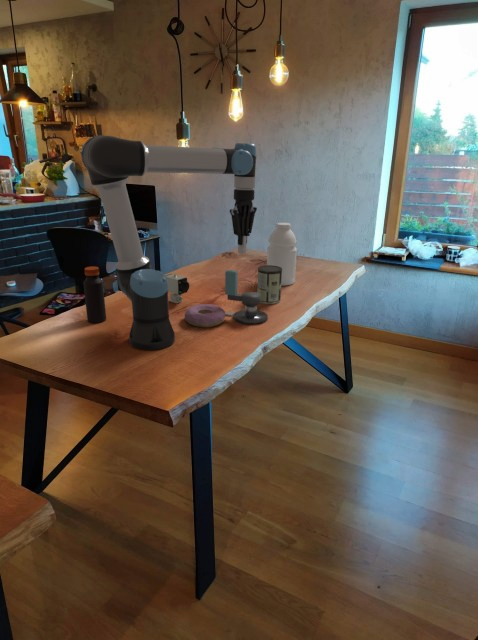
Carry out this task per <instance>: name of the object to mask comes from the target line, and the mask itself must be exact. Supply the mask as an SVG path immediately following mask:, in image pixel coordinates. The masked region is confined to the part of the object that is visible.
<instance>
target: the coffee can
mask: <svg viewBox="0 0 478 640" xmlns="http://www.w3.org/2000/svg"><path fill="white" fill-rule="evenodd" d="M281 279H282V268H281V267H279V266H273V265H267V264H266V265H260V266H258V267H257V285H256V286H257V290H256V293H258V294H260V295H261V299H260V304H264V305H272V304H273V305H277V304H279V303H280V302H282V301H281V300H282V299H281V297H282V286H281Z"/></svg>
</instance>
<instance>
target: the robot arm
mask: <svg viewBox="0 0 478 640" xmlns="http://www.w3.org/2000/svg"><path fill="white" fill-rule="evenodd" d="M80 153H81V162H82V164H83V166H84V167H85V169H86V170H87V173H88V176H89V180H90V184H91V186H92V187H94V188H95V189H97V190H98V192H99V193H98V194H99V197H100V200H101V204H102V208H103V211H104V215H105V218H106V222H107V224H108V228H109V232H110V236H111V239H112V243H113V247H114V250H115V254H116V256H117V257H116V258H117V263H116V264H115V265H114V267H115V269H116V273H117V274H116V275H117V276H116V277H117V278H116V279H117V285H118V287H119V289H120V291H121V292H122V293H123V295H125V296H126V297H127V298H128V299H129V301H130V302H131V306H132V307H131V308H132V309H131V310H132V323H131V324H132V325H131V328H130V331H129V335H128V338H129V340H128V341H129V345H130V346H131V347H133V348H134V349H137V350H143V351H158V350H162V349H166V348H168V347H171V346H172V345H173V344H175V342H176V334H175V331H174V329H173V326H172V323H171V320H170V315H169V313H170V312H169V308H170V307H169V292H168V282H167V277H166V275H167V274H165V273H164V272H162V271H161V270H156V269H152V265H151V261H150V258H149V257H147V256H145V254H144V251H143V247H142V243H141V240H140V236H139V231H138V229H137V224H136V220H135V216H134V213H133V209H132V206H131V201H130V197H129V194H128V193H129V192H128V189H127V185H126V184H127V182H128V180H129V177H144V175H146V174H147V173H156V174H158V173H159V174H160V173H161V174H162V173H163V174H167V173H168V174H207V175H208V174H209V175H210V174H211V175H212V174H213V175H215V174H216V175H217V174H218V175H234V176H233V177H234V181H233V187H234V189H233V200H235V202H234V207H233V208H231V209H229V213H230V216H231V223H232V230H233V235H235V236H237V253H238V254H242V255H245V254H247V244H248V237H249V236H250V235H251V234H252V231H253V230H252V229H253V227H254V226H253V225H254V219H255V216H256V215H255V214H256V212H257V210H258V209H257V207H255V206H253V201H254V200H255V188H256V165H257V164H256V162H257V146H256V144H255V143H247V142H246V143H245V142H236V143H235V144H234V148H219V147H217V148H216V147H212V148H211V147H210V148H209V147H195V146H194V147H191V146H190V147H189V146H169V145H154V144H153V145H151V144H150V145H148V144H145V143H144V142H143V141H142V140H132V139H126V138H121V137H116V136H112V135H104V134H101V135H95V136H94V135H93V136H92V137H90V138H89V139H88V140H86V141H85V142H84V144H83V146H82V148H81V152H80Z"/></svg>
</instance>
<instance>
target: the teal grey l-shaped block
mask: <svg viewBox="0 0 478 640" xmlns="http://www.w3.org/2000/svg"><path fill="white" fill-rule="evenodd" d="M238 271H239V270H231V269H227V270H225V273H224V275H225V276H224V277H225V280H224V285H225V286H224V288H225V289H224V291H225V292H224V293H225V295H227V301H235V302H241V304H242V305H244V306H245V305H247V306H256V305H257V306H259V305H261V303H260V299H261V295H260V294H258V293H257V292H254V291H253V292H252V291H251V292H248V291H247V292H243V293H238V273H239V272H238Z"/></svg>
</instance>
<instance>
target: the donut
mask: <svg viewBox="0 0 478 640" xmlns="http://www.w3.org/2000/svg"><path fill="white" fill-rule="evenodd" d="M225 314H226V311H225V309H223V308H222V307H221V306H219V305H215V304H212V303H211V304H210V303H205V304H204V303H200V304H195V305H192V306H191V305H190V307H188V308H187V309H186V310H185V313H184V319H185V321H186V322H187V323H188V324H189V325H191V326H193V327H199V328H211V327H216V326H219V325H220V324H222V323H224V321H225V319H226V317H227V316H226V315H225Z"/></svg>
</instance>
